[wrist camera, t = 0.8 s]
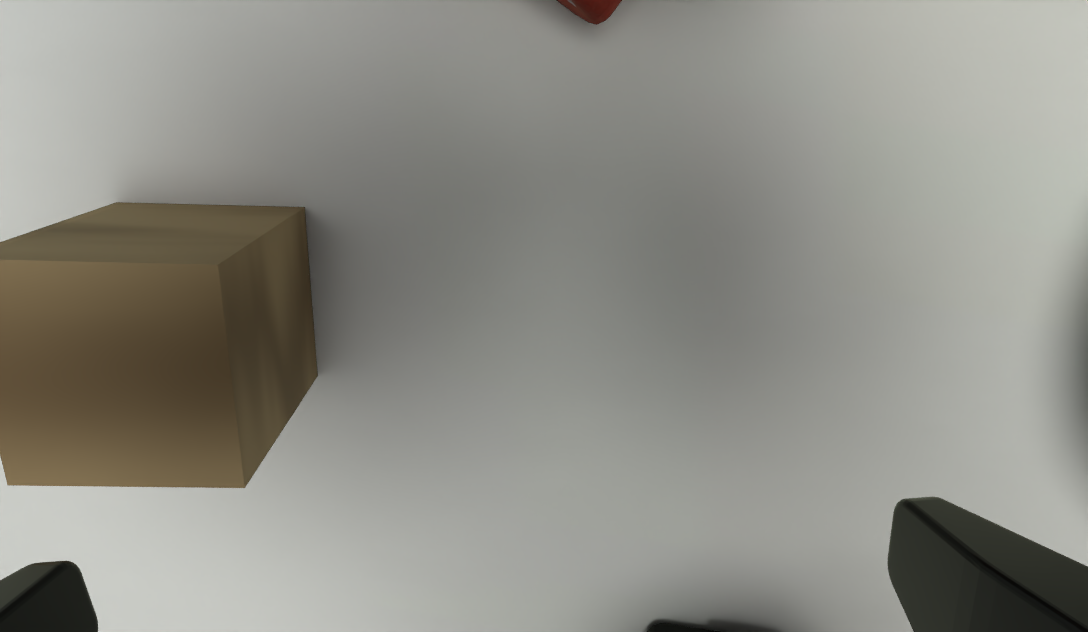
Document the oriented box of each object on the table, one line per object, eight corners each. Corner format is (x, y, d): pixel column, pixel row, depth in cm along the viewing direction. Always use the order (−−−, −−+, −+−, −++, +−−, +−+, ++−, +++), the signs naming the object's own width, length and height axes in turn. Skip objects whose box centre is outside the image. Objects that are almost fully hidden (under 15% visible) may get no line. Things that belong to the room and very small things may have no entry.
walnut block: (317, 375, 21) (244, 487, 16) (145, 372, 21) (7, 485, 16) (304, 206, 20) (217, 264, 14) (117, 202, 20) (-48, 258, 14)
